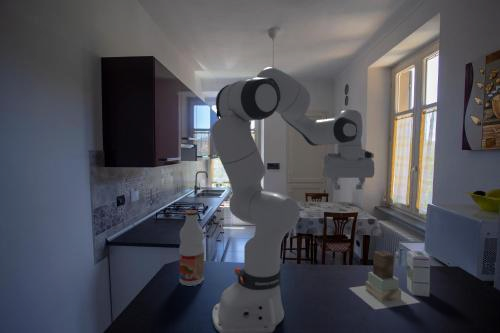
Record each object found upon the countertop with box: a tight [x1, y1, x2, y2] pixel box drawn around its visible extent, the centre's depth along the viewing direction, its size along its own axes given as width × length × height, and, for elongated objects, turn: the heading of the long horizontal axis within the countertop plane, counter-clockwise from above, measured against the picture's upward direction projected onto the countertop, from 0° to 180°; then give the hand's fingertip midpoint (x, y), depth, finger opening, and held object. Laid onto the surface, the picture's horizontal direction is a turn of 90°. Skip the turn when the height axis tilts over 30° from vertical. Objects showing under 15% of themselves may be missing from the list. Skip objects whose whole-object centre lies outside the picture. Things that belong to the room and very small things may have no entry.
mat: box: [348, 285, 421, 310], centre depth 93 cm, size 18×14×1 cm
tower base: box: [365, 280, 402, 302], centre depth 93 cm, size 8×8×4 cm
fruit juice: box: [178, 209, 205, 286], centre depth 102 cm, size 9×9×28 cm
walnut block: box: [372, 250, 395, 279], centre depth 93 cm, size 4×4×8 cm
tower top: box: [367, 271, 400, 291], centre depth 93 cm, size 7×7×4 cm
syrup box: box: [406, 250, 431, 297], centre depth 95 cm, size 6×6×14 cm
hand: (348, 189), depth 101 cm, fingers open, 8 cm apart
